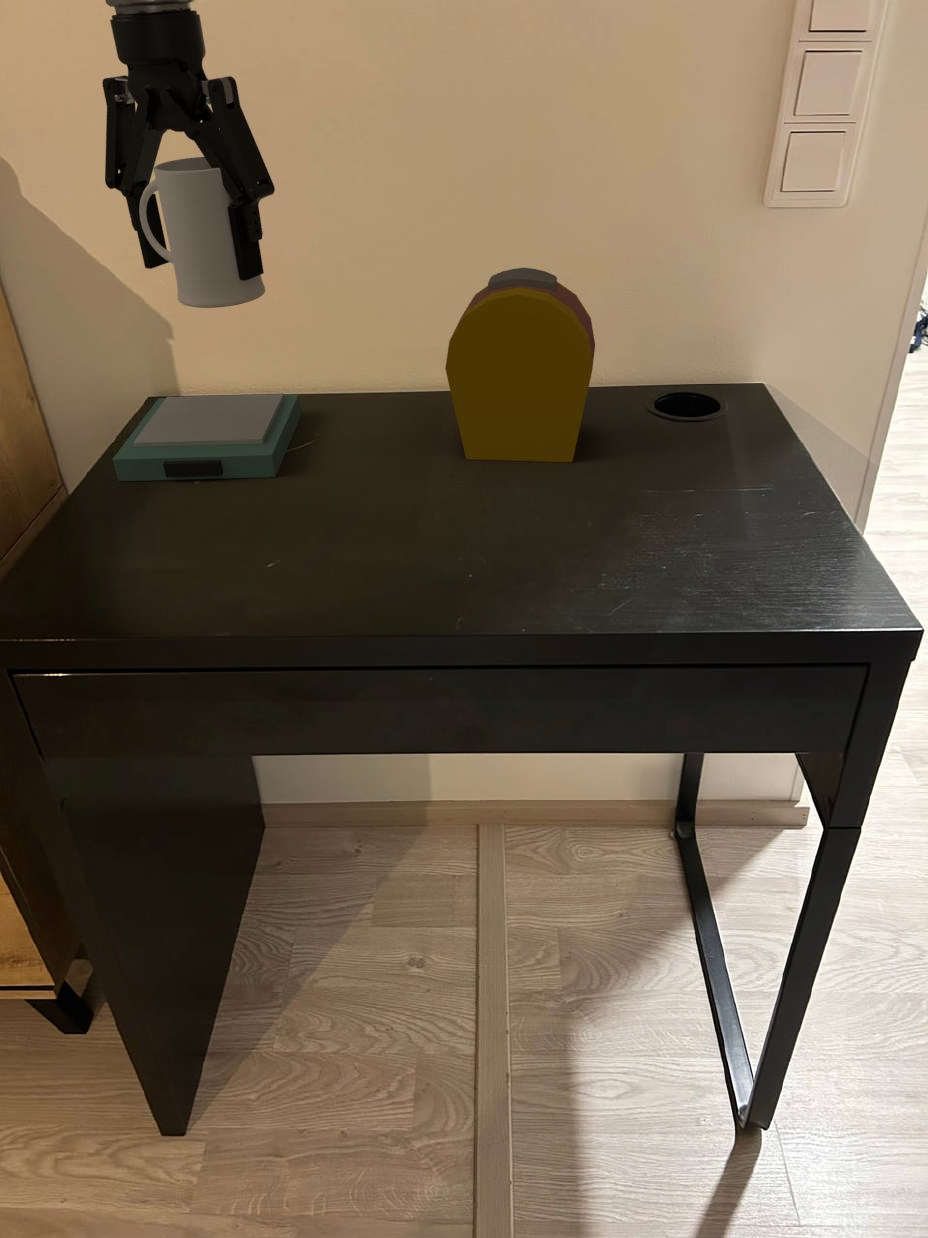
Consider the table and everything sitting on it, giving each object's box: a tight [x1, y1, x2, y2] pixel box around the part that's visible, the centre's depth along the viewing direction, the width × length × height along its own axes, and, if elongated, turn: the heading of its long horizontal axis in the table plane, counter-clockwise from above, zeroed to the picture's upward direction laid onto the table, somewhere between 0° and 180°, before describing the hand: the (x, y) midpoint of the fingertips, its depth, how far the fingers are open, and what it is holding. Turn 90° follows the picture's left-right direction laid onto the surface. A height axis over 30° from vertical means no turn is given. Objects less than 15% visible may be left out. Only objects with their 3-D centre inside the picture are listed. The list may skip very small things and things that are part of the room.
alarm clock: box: [444, 267, 596, 463], centre depth 100 cm, size 15×8×18 cm, turn 81°
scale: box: [112, 393, 303, 482], centre depth 107 cm, size 17×18×3 cm
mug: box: [139, 156, 266, 309], centre depth 92 cm, size 12×8×12 cm
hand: (203, 270), depth 94 cm, fingers closed on mug, 11 cm apart
